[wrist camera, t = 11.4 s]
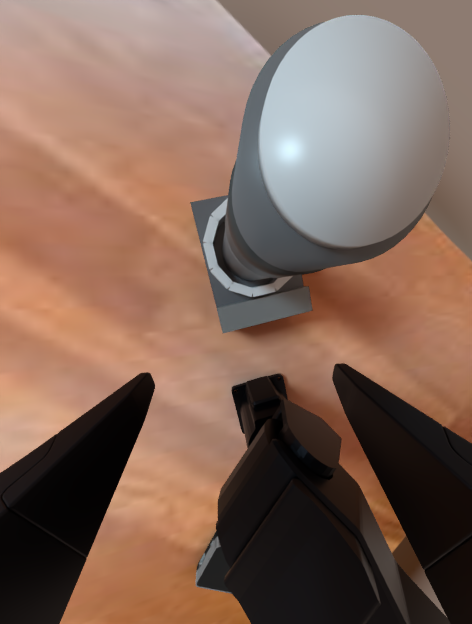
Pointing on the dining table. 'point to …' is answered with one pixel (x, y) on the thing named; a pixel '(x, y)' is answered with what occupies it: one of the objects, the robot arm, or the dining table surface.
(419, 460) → the robot arm
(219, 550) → the external hard drive
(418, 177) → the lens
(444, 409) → the dining table surface
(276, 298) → the camera body
